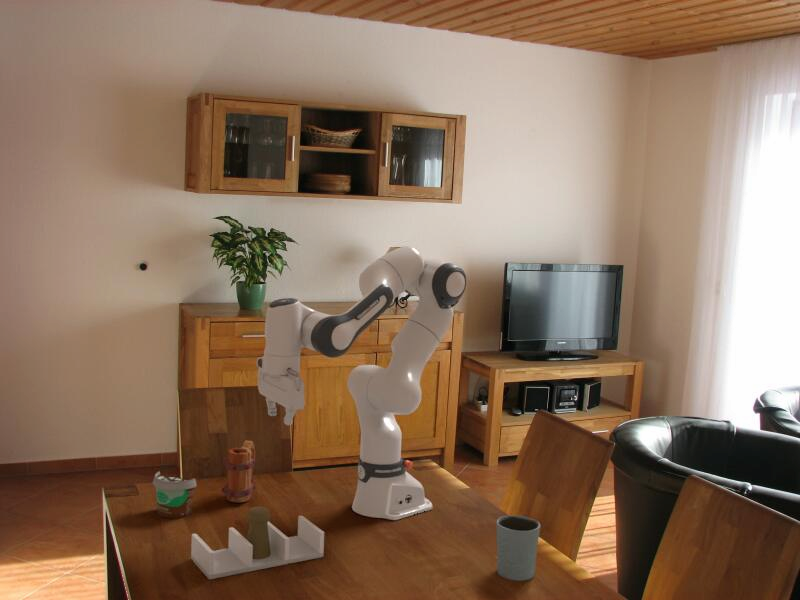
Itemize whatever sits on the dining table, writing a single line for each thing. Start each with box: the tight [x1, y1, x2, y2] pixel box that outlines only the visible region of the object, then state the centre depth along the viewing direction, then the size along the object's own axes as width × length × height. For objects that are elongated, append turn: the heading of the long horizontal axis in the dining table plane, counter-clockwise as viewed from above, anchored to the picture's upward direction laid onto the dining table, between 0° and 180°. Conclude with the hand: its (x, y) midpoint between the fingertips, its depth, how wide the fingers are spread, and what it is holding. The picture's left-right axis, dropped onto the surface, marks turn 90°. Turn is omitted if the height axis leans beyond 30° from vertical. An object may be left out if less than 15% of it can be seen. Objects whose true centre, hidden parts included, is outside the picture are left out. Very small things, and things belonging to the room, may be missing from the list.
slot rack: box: [190, 515, 325, 580], centre depth 204 cm, size 28×12×6 cm, turn 122°
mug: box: [221, 440, 256, 504], centre depth 243 cm, size 15×8×15 cm, turn 168°
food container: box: [152, 471, 197, 519], centre depth 228 cm, size 12×6×10 cm, turn 68°
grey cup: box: [496, 515, 541, 582], centre depth 202 cm, size 10×10×12 cm
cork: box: [246, 506, 271, 559], centre depth 203 cm, size 6×6×11 cm
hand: (280, 419), depth 216 cm, fingers open, 8 cm apart
